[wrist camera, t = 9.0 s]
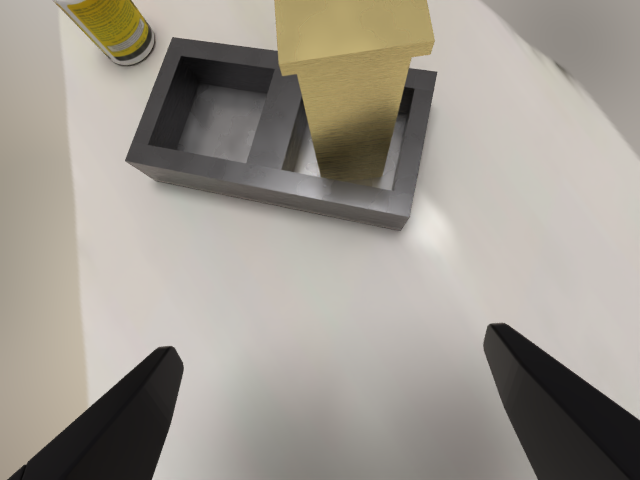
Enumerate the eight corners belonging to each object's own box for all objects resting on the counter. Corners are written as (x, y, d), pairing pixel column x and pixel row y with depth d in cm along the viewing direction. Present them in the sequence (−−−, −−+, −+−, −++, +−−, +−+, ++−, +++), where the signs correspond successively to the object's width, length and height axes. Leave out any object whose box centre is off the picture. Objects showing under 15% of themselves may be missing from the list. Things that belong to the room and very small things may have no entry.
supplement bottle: (165, 30, 29) (90, -81, 20) (140, 72, 28) (53, -25, 20) (122, 18, 29) (35, -93, 21) (98, 59, 29) (-3, -40, 20)
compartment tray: (400, 230, 23) (409, 217, 19) (155, 180, 25) (124, 160, 22) (425, 104, 24) (437, 71, 21) (194, 70, 27) (172, 37, 24)
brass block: (389, 182, 23) (434, 40, 11) (316, 190, 23) (278, 64, 11) (380, 116, 24) (410, -79, 12) (310, 125, 24) (271, -54, 12)
